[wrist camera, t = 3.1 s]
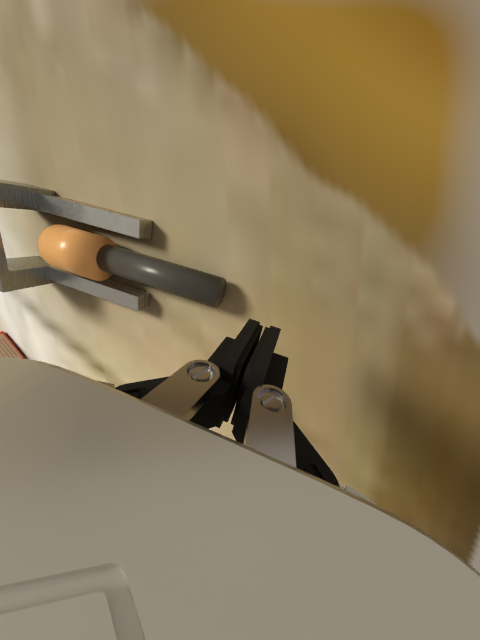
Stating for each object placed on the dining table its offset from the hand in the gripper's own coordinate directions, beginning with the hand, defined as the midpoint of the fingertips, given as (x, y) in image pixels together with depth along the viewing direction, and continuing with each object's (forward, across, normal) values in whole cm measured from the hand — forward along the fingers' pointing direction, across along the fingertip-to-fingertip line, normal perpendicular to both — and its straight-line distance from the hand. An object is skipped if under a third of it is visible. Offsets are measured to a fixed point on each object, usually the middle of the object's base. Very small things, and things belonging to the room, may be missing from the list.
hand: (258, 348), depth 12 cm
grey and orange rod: (+10, +15, +1) cm, 18 cm away
